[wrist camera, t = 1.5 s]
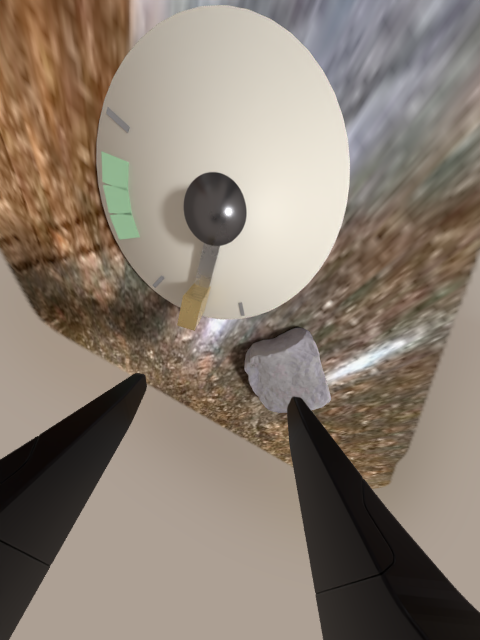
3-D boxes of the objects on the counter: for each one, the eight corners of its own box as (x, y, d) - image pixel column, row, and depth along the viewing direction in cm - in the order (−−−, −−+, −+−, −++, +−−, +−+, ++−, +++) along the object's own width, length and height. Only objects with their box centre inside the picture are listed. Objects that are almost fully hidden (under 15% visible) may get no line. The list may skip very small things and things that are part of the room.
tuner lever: (201, 171, 14) (185, 154, 10) (254, 194, 14) (256, 184, 11) (176, 309, 20) (160, 328, 16) (214, 321, 20) (207, 342, 17)
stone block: (266, 390, 30) (330, 385, 26) (263, 417, 26) (337, 416, 22) (239, 335, 26) (311, 319, 22) (229, 358, 22) (315, 343, 18)
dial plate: (358, -40, 10) (370, -68, 9) (335, 300, 20) (340, 304, 19) (48, 81, 13) (31, 69, 12) (163, 326, 23) (159, 331, 22)
